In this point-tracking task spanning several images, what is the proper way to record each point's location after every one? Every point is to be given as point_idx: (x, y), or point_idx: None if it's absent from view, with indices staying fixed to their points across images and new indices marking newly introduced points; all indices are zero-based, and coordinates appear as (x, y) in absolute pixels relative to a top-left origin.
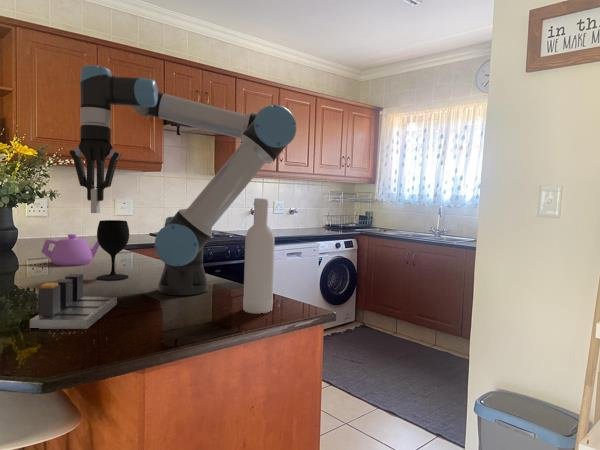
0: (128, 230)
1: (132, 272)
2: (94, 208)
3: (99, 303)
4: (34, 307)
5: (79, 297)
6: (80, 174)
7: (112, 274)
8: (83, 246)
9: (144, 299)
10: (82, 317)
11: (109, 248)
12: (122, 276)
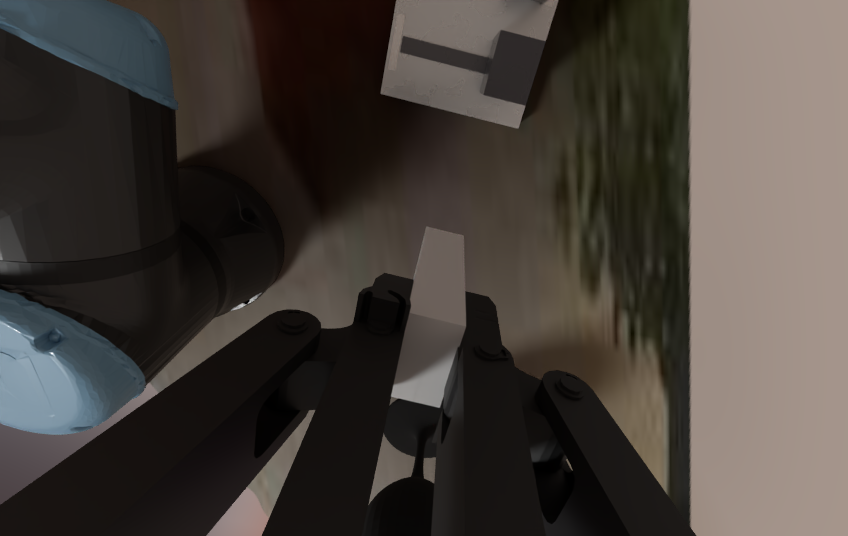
0: None
1: (378, 478)
2: (438, 242)
3: (424, 2)
4: (611, 101)
5: (488, 59)
6: (627, 497)
7: (422, 427)
8: None
9: (311, 143)
10: None
11: (423, 481)
12: (396, 419)
